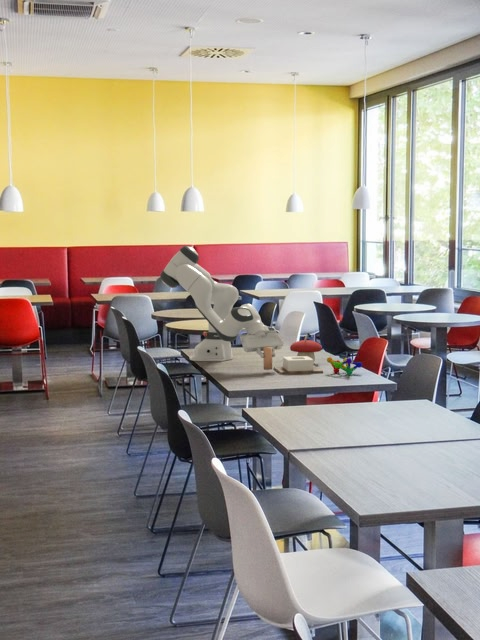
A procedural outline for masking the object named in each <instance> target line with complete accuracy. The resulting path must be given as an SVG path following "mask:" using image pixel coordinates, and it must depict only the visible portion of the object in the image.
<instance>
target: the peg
mask: <svg viewBox="0 0 480 640" xmlns="http://www.w3.org/2000/svg"><path fill="white" fill-rule="evenodd" d="M263 353H264V354H265V358H263V370H265V371H267V370H268V371H269V370H273V357H272V347H264V351H263Z"/></svg>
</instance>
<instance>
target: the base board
mask: <svg viewBox="0 0 480 640" xmlns="http://www.w3.org/2000/svg"><path fill="white" fill-rule="evenodd" d="M273 369H274V371H276V372H277V373H278V374H280V375H303V374H305V375H306V374H324V370H323V369H321V368H319V367H318V366H316V365H314V370H311V371H287V370H286V369H285V368H283V366H273Z"/></svg>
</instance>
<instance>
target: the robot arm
mask: <svg viewBox="0 0 480 640" xmlns="http://www.w3.org/2000/svg"><path fill="white" fill-rule="evenodd" d="M199 259H200V255H199V253H198V252H197V251H196V250H195V248H194V247H191V246H188V245H183V246H182V247H181V248H179V251H177V253H175V254H174V255H173V256H172V258H170V261H168V262H167V264H166V266H165V267H164V269H162V271H161V272H160V275H159V276H160V280H161V281H162V283H163V284H164V285H165V286H166V287H169V288H171V289H175V288H177V287H182V288H183V290H185V291H186V292H187V293H188V294H189V295H190V296H191V297H192V299H193V300H194V303H195V304H194V305H195V308H196V309H197V311H198V312H199V313H200V314H201V315H202V317H203V318H204V319H205V321H207V322H208V331H203V333H202V335H203V336H204V339H203V340H202V341H201V342H199V343H198V344H197V345H195V347H194V350H193V355H190V356H189V360H190V361H193V362H225V361H229V360H233V359H234V356H233V352H232V344H231V342H234V341H236V340H237V338H238V336H239V335H240V333H241V331H242V330H243V329H245V330H246V334H245V333H243V334H241V335H240V336H239V341H240V342H241V345H242V348H243V351H244V352H245V353H253V352H255V353H256V354H257V355H259V356H260V358H261V359H264V358H265V354H264V347H272V358H274V357H276V352H275V350H276V351H277V350H281V349H282V348H283V347H284V341H283V339H282V337H281V336H280V334H279V333H278V332H277V329H276V328H275V327H273V326H267V325H265V324H264V322H262V319H261V316H260V314H259V312H258V310H257V308H255V306H254V305H252V304H251V303H244V304H241V306H237V307H234V305H235V304H236V302H237V301H238V299H239V296H240V295H239V290H238V289H237V287H235V286H234V285H232V284H229V283H219V282H217V281H215V280H214V279H213V277H212V276H211V273H210V272H208V271H207V270H206V269H205V268H203V266H201V265H199V264H198V262H199ZM212 305H213V308H212Z"/></svg>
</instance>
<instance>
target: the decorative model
mask: <svg viewBox="0 0 480 640" xmlns="http://www.w3.org/2000/svg"><path fill="white" fill-rule="evenodd" d="M326 362H327V363H330V365H331V366H332V368H333V373H334V374H338V373H339V372H340V369H341V370H343V371H344V372H346V375H348V376H351V375H352V374H353V372H354V371H355V370H356V369H359V368H362V367H363V363H362V362H360V361H358V362H355V361H353V359H352V358H350V357H348V358H347V357H345V358H343V359H342V361H340V360H338V359H337V360H334V359H333V358H332V357H330V356H328V357H327V358H326ZM351 365H354V366H352V367H351Z"/></svg>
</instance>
